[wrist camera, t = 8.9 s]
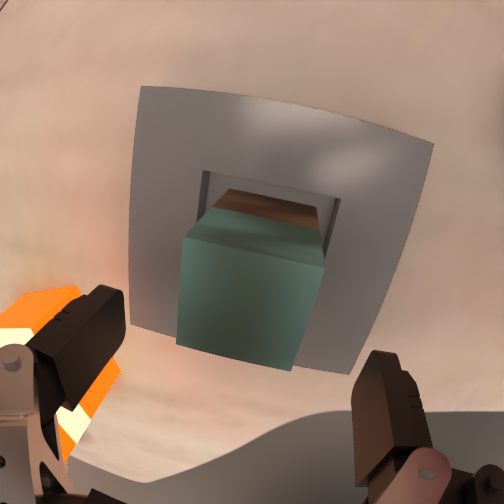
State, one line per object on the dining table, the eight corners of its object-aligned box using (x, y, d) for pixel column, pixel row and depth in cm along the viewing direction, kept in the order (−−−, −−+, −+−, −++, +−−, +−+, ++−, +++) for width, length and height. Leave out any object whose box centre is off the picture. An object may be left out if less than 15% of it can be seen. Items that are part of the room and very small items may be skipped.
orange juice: (77, 284, 22) (-95, 474, 4) (122, 372, 25) (15, 559, 7) (23, 293, 24) (-117, 433, 6) (65, 368, 27) (-37, 513, 9)
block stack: (316, 207, 16) (325, 268, 10) (296, 283, 18) (290, 371, 12) (229, 188, 16) (183, 237, 10) (217, 265, 18) (176, 344, 12)
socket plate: (415, 139, 15) (434, 143, 13) (345, 347, 21) (349, 374, 18) (162, 88, 16) (141, 86, 13) (147, 302, 22) (130, 324, 19)
